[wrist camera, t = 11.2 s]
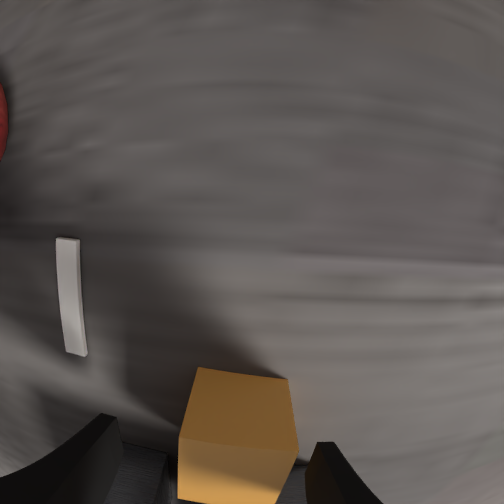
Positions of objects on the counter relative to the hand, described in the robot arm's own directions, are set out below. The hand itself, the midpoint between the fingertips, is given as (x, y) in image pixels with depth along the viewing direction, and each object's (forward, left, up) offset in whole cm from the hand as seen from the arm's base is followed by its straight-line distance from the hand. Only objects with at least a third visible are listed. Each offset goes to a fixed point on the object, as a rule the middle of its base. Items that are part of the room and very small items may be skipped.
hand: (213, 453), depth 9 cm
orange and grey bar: (0, +7, -3) cm, 8 cm away
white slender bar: (+6, -4, -3) cm, 8 cm away
